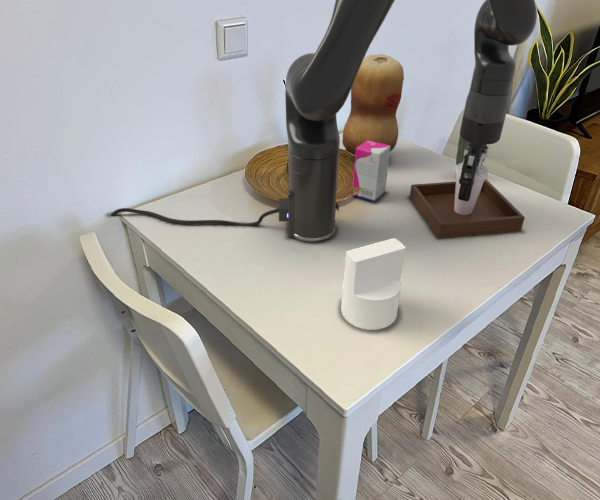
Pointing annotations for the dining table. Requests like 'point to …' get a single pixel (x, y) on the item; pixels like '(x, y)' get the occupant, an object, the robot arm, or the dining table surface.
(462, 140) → the vegetable
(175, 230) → the dining table surface
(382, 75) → the butternut squash
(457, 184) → the smoothie
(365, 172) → the supplement box
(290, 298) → the dining table surface
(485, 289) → the dining table surface
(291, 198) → the robot arm
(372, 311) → the cylinder with rectangular tab
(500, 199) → the tray
